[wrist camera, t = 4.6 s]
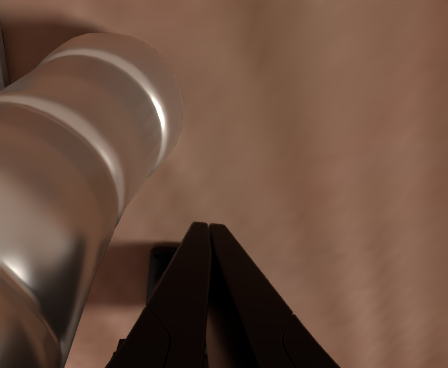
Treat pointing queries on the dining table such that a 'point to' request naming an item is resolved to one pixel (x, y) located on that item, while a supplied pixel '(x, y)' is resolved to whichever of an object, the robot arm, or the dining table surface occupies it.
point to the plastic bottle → (73, 180)
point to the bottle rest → (3, 65)
